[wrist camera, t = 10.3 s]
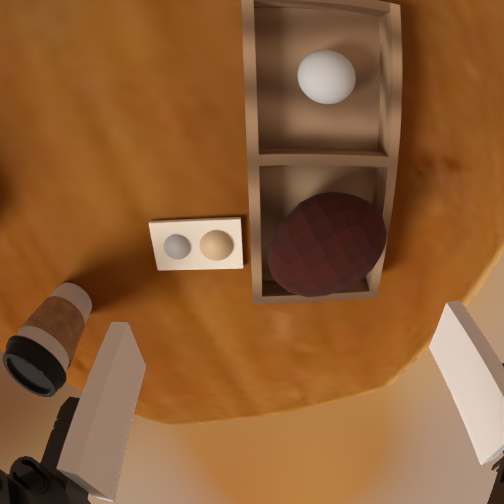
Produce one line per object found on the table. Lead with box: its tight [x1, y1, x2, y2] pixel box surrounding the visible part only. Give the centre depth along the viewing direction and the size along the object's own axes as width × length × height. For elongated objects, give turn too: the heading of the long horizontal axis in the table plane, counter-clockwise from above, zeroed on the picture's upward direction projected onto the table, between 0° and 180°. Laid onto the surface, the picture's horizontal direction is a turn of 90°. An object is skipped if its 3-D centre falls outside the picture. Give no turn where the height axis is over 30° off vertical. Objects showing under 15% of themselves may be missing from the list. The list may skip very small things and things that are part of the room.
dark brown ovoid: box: [268, 192, 387, 297], centre depth 30 cm, size 9×12×9 cm
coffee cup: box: [3, 282, 92, 397], centre depth 33 cm, size 8×8×15 cm
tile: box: [149, 217, 243, 270], centre depth 35 cm, size 6×10×1 cm, turn 92°
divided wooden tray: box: [241, 0, 402, 304], centre depth 29 cm, size 31×14×4 cm, turn 2°
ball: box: [297, 50, 356, 104], centre depth 24 cm, size 5×5×5 cm
